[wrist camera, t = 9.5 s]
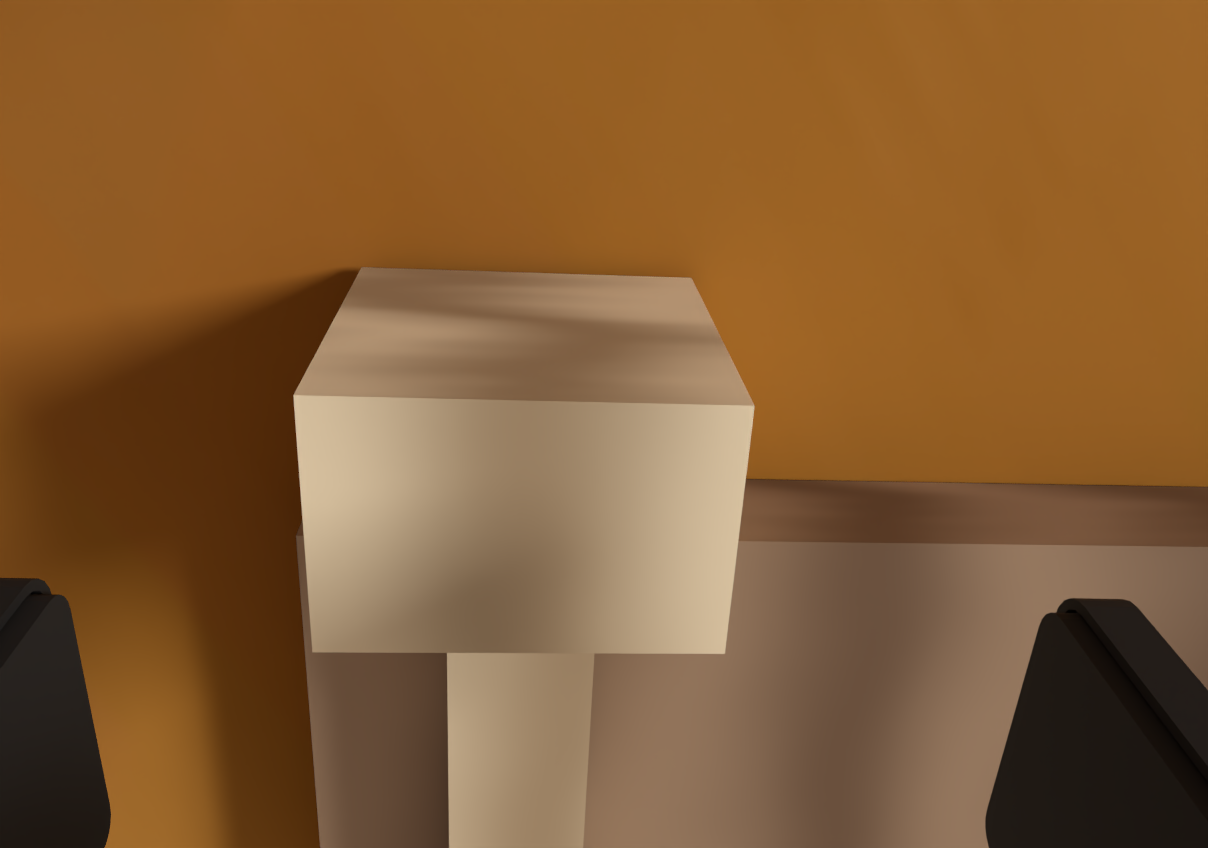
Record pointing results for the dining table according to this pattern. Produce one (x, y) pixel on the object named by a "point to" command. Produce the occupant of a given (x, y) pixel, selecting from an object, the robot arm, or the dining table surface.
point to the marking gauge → (520, 507)
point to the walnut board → (801, 672)
